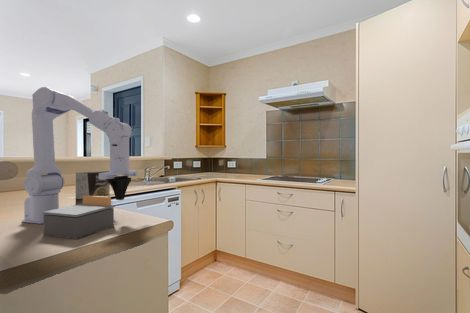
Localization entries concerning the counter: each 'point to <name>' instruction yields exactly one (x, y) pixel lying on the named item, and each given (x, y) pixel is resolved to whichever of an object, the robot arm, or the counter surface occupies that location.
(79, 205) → the box lid
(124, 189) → the robot arm
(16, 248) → the counter surface
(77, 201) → the coffee box
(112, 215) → the grey box
